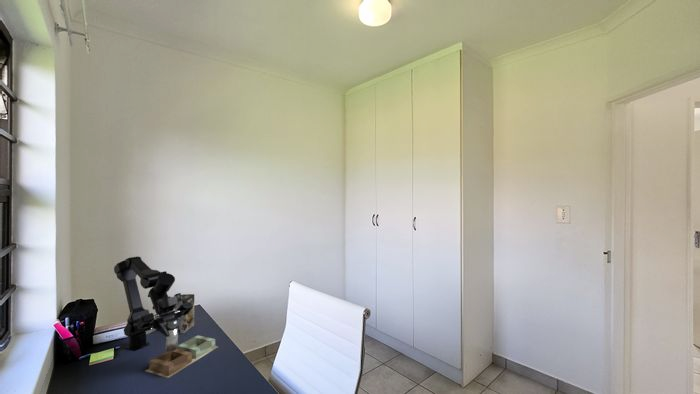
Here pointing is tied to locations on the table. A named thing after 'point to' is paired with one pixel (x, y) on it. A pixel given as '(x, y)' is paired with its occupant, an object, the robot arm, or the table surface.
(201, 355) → the wooden desk organizer
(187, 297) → the coffee box
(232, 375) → the table surface
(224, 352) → the table surface
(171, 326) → the shiny grey rounded piece
